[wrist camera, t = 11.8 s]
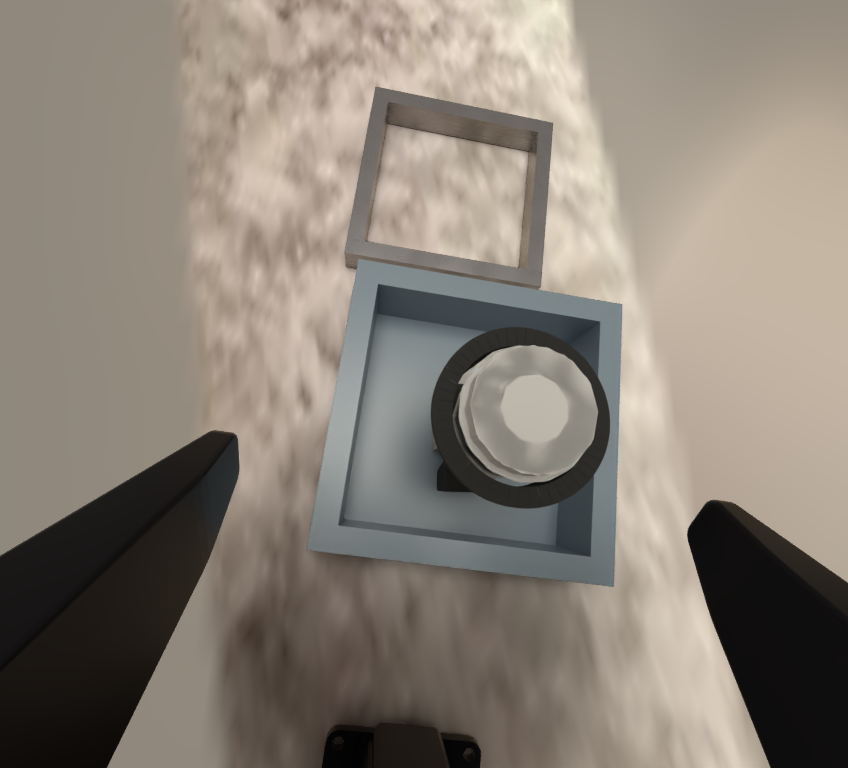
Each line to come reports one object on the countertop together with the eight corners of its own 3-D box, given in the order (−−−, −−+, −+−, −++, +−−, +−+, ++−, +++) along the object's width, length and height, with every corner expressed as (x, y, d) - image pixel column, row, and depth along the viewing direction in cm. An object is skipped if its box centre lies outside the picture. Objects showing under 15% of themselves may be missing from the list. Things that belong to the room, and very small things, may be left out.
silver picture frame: (530, 298, 25) (540, 286, 23) (346, 266, 24) (344, 252, 22) (543, 142, 27) (553, 123, 25) (375, 108, 26) (375, 86, 25)
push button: (410, 359, 23) (440, 264, 13) (514, 365, 23) (619, 278, 13) (405, 497, 21) (434, 508, 11) (516, 500, 22) (635, 513, 12)
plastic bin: (570, 568, 22) (613, 586, 18) (318, 537, 21) (306, 550, 17) (582, 333, 24) (622, 304, 21) (360, 296, 23) (358, 258, 20)
